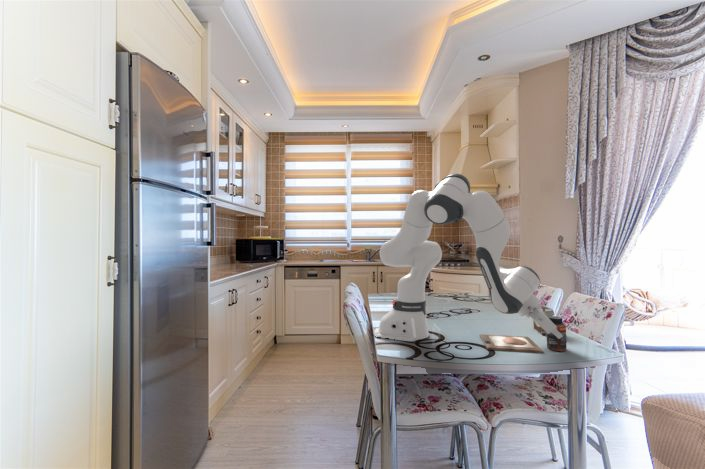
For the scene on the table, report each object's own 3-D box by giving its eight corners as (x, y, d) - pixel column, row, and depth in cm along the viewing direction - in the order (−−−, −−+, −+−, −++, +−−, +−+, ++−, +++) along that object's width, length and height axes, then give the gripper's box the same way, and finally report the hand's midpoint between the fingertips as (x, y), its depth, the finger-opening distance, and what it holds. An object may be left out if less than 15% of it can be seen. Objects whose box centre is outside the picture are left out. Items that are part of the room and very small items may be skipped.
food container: (560, 337, 128) (559, 311, 129) (543, 336, 130) (542, 311, 130) (547, 328, 140) (547, 305, 141) (532, 328, 142) (532, 305, 142)
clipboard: (487, 349, 115) (487, 345, 115) (479, 336, 130) (479, 332, 130) (543, 352, 111) (543, 348, 111) (528, 338, 126) (528, 335, 126)
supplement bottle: (568, 349, 115) (567, 317, 115) (564, 353, 110) (564, 320, 110) (548, 345, 119) (548, 314, 119) (544, 349, 114) (544, 317, 114)
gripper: (538, 304, 107) (573, 336, 104) (529, 294, 127) (558, 321, 123) (523, 316, 109) (558, 349, 105) (516, 305, 128) (545, 332, 124)
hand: (558, 334), depth 114 cm, fingers closed on supplement bottle, 6 cm apart
